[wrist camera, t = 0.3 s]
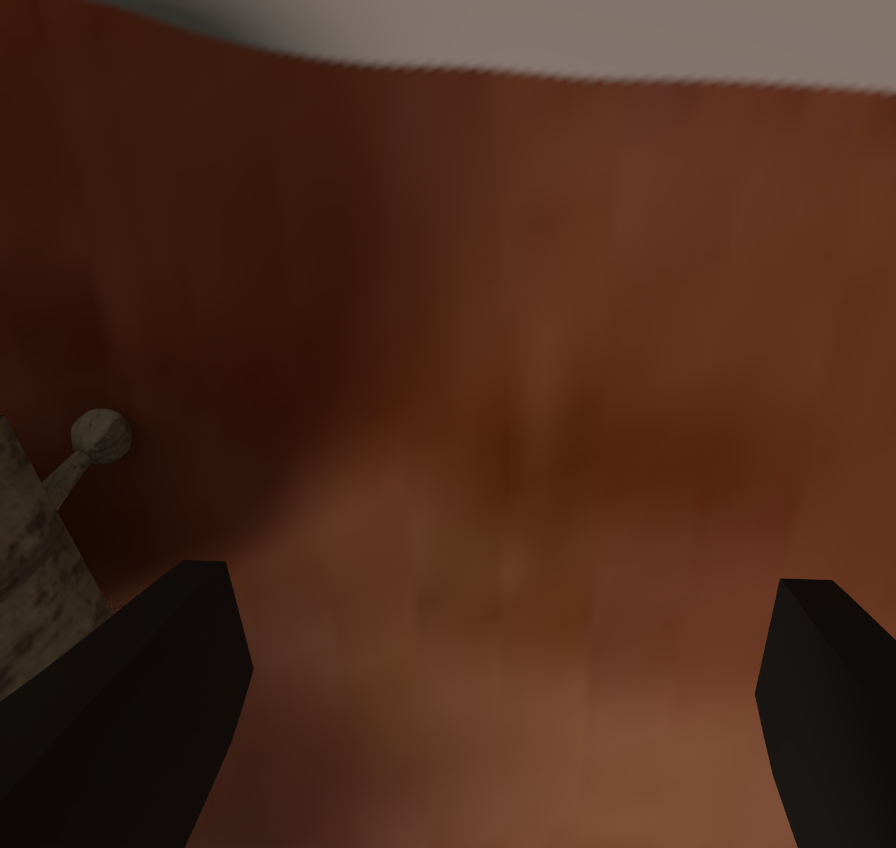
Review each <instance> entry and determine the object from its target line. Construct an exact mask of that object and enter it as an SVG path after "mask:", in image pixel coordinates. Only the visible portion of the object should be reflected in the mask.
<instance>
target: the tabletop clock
mask: <svg viewBox="0 0 896 848" xmlns="http://www.w3.org/2000/svg"><path fill="white" fill-rule="evenodd" d="M71 440H72V447H73V450H74V451H75V452H74V453H73V454H72V455H71V456H70V457H69V458H67V459H66V460H65V461H64V462H63V463H62V464H61V465H60V466H59V467H58V468H57V469H55V470H54V471H53V472H52V473H51V474H50V475H49V476H48V477H47V478H46V479H45V480H44V481H42V482H41V481H40V479H39V477H38V475H37V474H36V472H35V470H34V468H33V466H32V464H31V463H30V461H29V459H28V457H27V455H26V453H25V452H24V450H23V448H22V446H21V444H20V443H19V441H18V439H17V437H16V435H15V433H14V432H13V430H12V428H11V426H10V424H9V422H8V421H7V419H6V417H5V415H0V701H2V700H3V699H4V698H6V697H7V696H9V695H10V694H11V693H13V692H14V691H15V690H17V689H18V688H19V687H21V686H22V685H24V684H25V683H26V682H28V681H29V680H30V679H32V678H33V677H35V676H36V675H37V674H39V673H40V672H41V671H43V670H44V669H45V668H46V667H48V666H49V665H50V664H52V663H53V662H54V661H55V660H57V659H58V658H59V657H61V656H62V655H63V654H64V653H66V652H67V651H68V650H69V649H71V648H72V647H73V646H75V645H76V644H77V643H78V642H80V641H81V640H82V639H83V638H85V637H86V636H87V635H89V634H90V633H91V632H92V631H94V630H95V629H96V628H97V627H99V626H100V625H101V624H103V623H104V622H105V621H106V620H108V619H109V618H110V617H111V616H113V613H112V611H111V609H110V607H109V605H108V604H107V602H106V600H105V598H104V596H103V594H102V593H101V591H100V589H99V587H98V585H97V583H96V582H95V580H94V578H93V576H92V574H91V572H90V571H89V569H88V567H87V565H86V563H85V561H84V560H83V558H82V556H81V554H80V552H79V550H78V549H77V547H76V545H75V543H74V541H73V539H72V538H71V536H70V534H69V532H68V530H67V529H66V527H65V525H64V523H63V521H62V519H61V518H60V516H59V514H58V512H57V511H58V509H59V508H60V507H61V505H62V504H63V502H64V501H65V499H66V498H67V497H68V495H69V494H70V492H71V491H72V489H73V488H74V487H75V485H76V484H77V482H78V481H79V479H80V478H81V477H82V475H83V474H84V472H85V471H86V469H87V468H88V467H89V465H90V464H91V463H93V464H109V463H113V462H114V461H116V460H117V459H119V458H120V457H122V456H123V455H124V454H126V453H127V451H128V450H129V449H130V447H131V442H132V429H131V426H130V424H129V422H128V421H127V420H126V419H125V418H124V417H123V416H122V415H121V414H120V413H118V412H115V411H113V410H110V409H92V410H90V411H87V412H86V413H85V414H83V415H82V416H81V417H80V418H78V419H77V420H76V422H75V423H74V424H73V425H72V429H71Z"/></svg>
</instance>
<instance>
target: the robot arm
mask: <svg viewBox="0 0 896 848" xmlns="http://www.w3.org/2000/svg"><path fill="white" fill-rule="evenodd" d="M252 673H253V665H252V661H251V657H250V653H249V649H248V645H247V642H246V638H245V634H244V630H243V626H242V622H241V618H240V615H239V611H238V607H237V603H236V599H235V595H234V591H233V588H232V584H231V580H230V576H229V572H228V568H227V564H226V562H224V561H191V560H183V561H182V562H181V563H179V564H178V565H176V566H175V567H174V568H172V569H171V570H170V571H168V572H167V573H166V574H164V575H163V576H162V577H160V578H159V579H158V580H157V581H155V582H154V583H153V584H151V585H150V586H149V587H148V588H146V589H145V590H144V591H143V592H141V593H140V594H139V595H138V596H136V597H135V598H134V599H133V600H131V601H130V602H129V603H128V604H126V605H125V606H124V607H123V608H121V609H120V610H119V611H118V612H116V613H115V614H114V615H113V616H111V617H110V618H109V619H108V620H106V621H105V622H104V623H103V624H101V625H100V626H99V627H97V628H96V629H95V630H94V631H92V632H91V633H90V634H89V635H87V636H86V637H85V638H83V639H82V640H81V641H80V642H78V643H77V644H76V645H75V646H73V647H72V648H71V649H69V650H68V651H67V652H66V653H64V654H63V655H62V656H61V657H59V658H58V659H57V660H55V661H54V662H53V663H52V664H50V665H49V666H48V667H46V668H45V669H44V670H43V671H41V672H40V673H39V674H37V675H36V676H35V677H33V678H32V679H30V680H29V681H28V682H26V683H25V684H24V685H22V686H21V687H19V688H18V689H17V690H15V691H14V692H13V693H11V694H10V695H9V696H7V697H6V698H4V699H3V700H2V701H0V848H185V846H186V843H187V841H188V839H189V837H190V834H191V832H192V830H193V828H194V826H195V823H196V821H197V819H198V817H199V814H200V812H201V810H202V808H203V805H204V803H205V801H206V799H207V797H208V794H209V792H210V790H211V787H212V785H213V783H214V781H215V778H216V776H217V774H218V771H219V769H220V767H221V765H222V762H223V760H224V758H225V755H226V753H227V751H228V748H229V746H230V744H231V741H232V738H233V735H234V732H235V729H236V726H237V723H238V720H239V717H240V714H241V710H242V707H243V704H244V700H245V697H246V693H247V690H248V687H249V683H250V680H251V676H252ZM755 697H756V702H757V706H758V711H759V716H760V720H761V725H762V730H763V735H764V739H765V743H766V748H767V752H768V756H769V760H770V765H771V769H772V773H773V777H774V780H775V783H776V786H777V789H778V791H779V794H780V797H781V800H782V803H783V806H784V809H785V812H786V815H787V818H788V821H789V823H790V826H791V829H792V832H793V835H794V838H795V841H796V844H797V847H798V848H896V640H895V639H894V638H893V637H892V636H891V635H890V634H889V633H888V632H887V631H886V630H885V629H883V628H882V627H881V626H880V625H879V624H878V623H877V622H876V621H875V620H874V619H873V618H872V617H871V616H870V615H869V614H868V613H867V612H866V611H865V610H864V609H863V608H862V607H860V606H859V605H858V604H857V603H856V602H855V601H854V600H853V599H852V598H851V597H850V596H849V595H848V594H847V593H846V592H845V591H844V590H842V589H841V588H840V587H839V586H838V585H837V584H836V583H835V582H834V581H833V580H810V579H780V581H779V586H778V590H777V595H776V600H775V604H774V609H773V613H772V618H771V622H770V627H769V632H768V636H767V641H766V645H765V650H764V654H763V659H762V664H761V668H760V673H759V677H758V682H757V686H756V691H755Z"/></svg>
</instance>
